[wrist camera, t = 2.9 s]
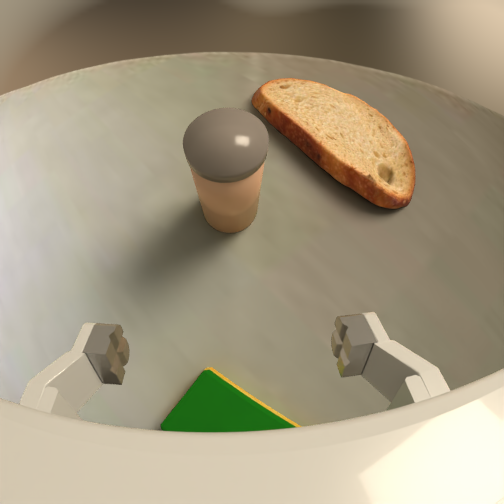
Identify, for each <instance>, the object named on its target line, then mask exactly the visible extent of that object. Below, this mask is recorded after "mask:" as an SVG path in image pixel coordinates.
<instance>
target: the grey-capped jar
mask: <svg viewBox="0 0 504 504" xmlns="http://www.w3.org/2000/svg"><path fill="white" fill-rule="evenodd" d="M268 144H269V136H268V132H267V129H266V127H265V126H264V124H263V123H262V122H261V121H260V120H259V119H258V118H257V117H256V116H255V115H253V114H251V113H249V112H247V111H244V110H241V109H237V108H219V109H214V110H211V111H208V112H206V113H204V114H202V115H200V116H199V117H197V118H196V119H195V120H194V121H193V122H192V123H191V124H190V125H189V126H188V128H187V130H186V132H185V134H184V138H183V148H184V152H185V156H186V159H187V162H188V164H189V166H190V168H191V172H192V175H193V179H194V182H195V186H196V189H197V193H198V196H199V200H200V203H201V207H202V210H203V213H204V216H205V219H206V221H207V222H208V223H209V224H210V225H211V226H212V227H213V228H214V229H216V230H218V231H221V232H225V233H235V232H239V231H242V230H244V229H245V228H247V227H248V226H249V225H250V224H251V223H252V222H253V221H254V219H255V217H256V214H257V209H258V202H259V195H260V188H261V181H262V174H263V167H264V161H265V159H266V156H267V151H268Z"/></svg>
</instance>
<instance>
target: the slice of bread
mask: <svg viewBox="0 0 504 504" xmlns="http://www.w3.org/2000/svg"><path fill="white" fill-rule="evenodd" d="M252 104H253V106H254V107H255V108H256V109H257V110H258V111H259V112H260V113H261V114H262V115H263V116H264V117H265V118H266V119H267V121H268V122H269V123H270V124H271V125H273V126H274V127H275V128H276V129H277V130H278V131H279V132H280V133H281V134H283V135H284V136H286V137H287V138H288V139H289V140H290V141H291V142H292V143H294V144H295V145H297V146H298V147H299V148H300V149H301V150H302V151H303V152H304V153H305V154H306V155H307V156H309V157H310V158H311V159H312V160H313V161H314V162H316V163H317V164H318V165H319V166H320V167H321V168H323V169H324V170H325V171H327V172H328V173H329V174H330V175H331V176H332V177H334V178H335V179H336V180H337V181H339V182H340V183H342V184H343V185H345V186H347V187H349V188H351V189H352V190H354V191H355V192H357V193H358V194H360V195H361V196H363V197H364V198H366V199H367V200H369V201H370V202H372V203H373V204H375V205H378V206H380V207H384V208H390V209H396V208H400V207H405V206H407V205H408V204H409V203H410V201H411V198H412V194H413V191H414V186H415V165H414V161H413V157H412V154H411V150H410V148H409V145H408V143H407V141H406V140H405V139H404V137H403V136H402V135H401V134H400V133H399V132H398V131H397V129H396V128H395V127H394V126H393V125H392V124H391V123H390V122H389V121H388V120H387V118H386V117H385V116H383V115H381V114H380V113H379V112H378V111H377V110H376V109H374V108H372V107H371V106H369V105H368V104H367V103H365V102H364V101H362V100H360V99H359V98H357V97H355V96H353V95H351V94H346V93H342V92H339V91H338V90H335V89H333V88H330V87H328V86H326V85H324V84H320V83H317V82H313V81H309V80H300V79H294V78H287V79H277V80H271V81H268V82H267V83H265V84H264V85H262V86H261V87H260V88H259V89H258V90H257V91H256V92H255V94H254V96H253V98H252Z"/></svg>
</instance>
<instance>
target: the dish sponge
mask: <svg viewBox="0 0 504 504" xmlns="http://www.w3.org/2000/svg"><path fill="white" fill-rule="evenodd" d="M295 427H301V426H300V425H298V424H296V423H295V422H293V421H291V420H290V419H288V418H286V417H285V416H283V415H281V414H280V413H278V412H277V411H275V410H273V409H272V408H270V407H269V406H267V405H266V404H264V403H262V402H261V401H259V400H258V399H256V398H255V397H253V396H252V395H250V394H249V393H247V392H246V391H244V390H243V389H242V388H240V387H239V386H237V385H236V384H234V383H233V382H231V381H230V380H229V379H227V378H226V377H224V376H223V375H222V374H220V373H219V372H217V371H216V370H215V369H213V368H212V367H209V368H206V369H205V370H204V371H203V372H202V373H201V375H200V376H199V377H198V378H197V380H196V381H195V382H194V384H193V385H192V386H191V387H190V389H189V390H188V391H187V392H186V394H185V395H184V396H183V397H182V399H181V400H180V401H179V403H178V404H177V405H176V406H175V408H174V409H173V410H172V411H171V412H170V414H169V415H168V416H167V417H166V419H165V420H164V421H163V422H162V424H161V429H162V430H163V431H174V432H248V431H264V430H276V429H286V428H295Z"/></svg>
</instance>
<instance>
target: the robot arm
mask: <svg viewBox="0 0 504 504" xmlns="http://www.w3.org/2000/svg"><path fill="white" fill-rule="evenodd" d="M335 327H336V330H334V331H333V332H332V337H331V347H332V351H333V355H334V356H335V357H336V358H338V362H337V367H338V370H339V373H340V375H341V377H349V376H356V375H362V377H363V378H365V379H366V380H367V381H368V382H369V383H370V384H371V385H372V386H373V387H375V388H376V389H377V390H378V391H379V392H380V393H381V394H382V395H383V396H385V397H386V398H387V399H388V400H389V401H390V402H391V404H390V406H389V407H388V409H387V410H386V411H383V412H379V413H375V414H371V415H366V416H362V417H357V418H352V419H347V420H342V421H336V422H330V423H324V424H318V425H311V426H303V427H295V428H286V429H276V430H264V431H248V432H174V431H159V430H147V429H137V428H128V427H120V426H113V425H106V424H100V423H94V422H89V421H83V420H82V419H81V418H80V417H79V415H78V414H77V412H78V411H79V410H80V409H81V408H82V407H83V406H84V405H85V404H86V402H87V401H88V400H89V399H90V398H91V397H92V396H93V395H94V394H95V393H96V391H97V390H98V389H99V388H100V387H101V386H102V385H103V384H102V383H104V384H117V385H122V382H123V378H124V374H125V370H124V368H123V366H125V365H126V364H127V363H128V360H129V345H128V342H127V340H126V339H125V338H124V337H123V336H122V335H123V330H122V327H121V325H118V324H103V323H85V324H83V326H82V328H81V330H80V332H79V335H78V337H77V339H76V341H75V343H74V345H73V347H72V350H71V352H69V351H68V352H66V353H65V354H64V355H62V356H61V357H60V358H58V359H57V360H56V361H54V362H53V363H52V364H50V365H49V366H48V367H46V368H45V369H44V370H43V371H41V372H40V373H39V374H37V375H36V376H35V377H34V378H32V379H31V380H30V381H29V382H28V384H27V386H26V389H25V391H24V393H23V396H22V398H21V400H20V403H19V404H16V403H13V402H10V401H7V400H4V399H2V398H0V504H504V368H503V369H501V370H499V371H497V372H495V373H493V374H491V375H488V376H486V377H484V378H482V379H479V380H477V381H474V382H472V383H470V384H467V385H465V386H462V387H460V388H457V389H454V390H452V391H450V389H449V387H448V386H447V384H446V382H445V380H444V378H443V376H442V375H441V373H440V371H439V369H438V368H437V367H436V366H434V365H432V364H431V363H429V362H428V361H426V360H424V359H423V358H421V357H420V356H418V355H416V354H415V353H413V352H412V351H410V350H408V349H407V348H405V347H404V346H402V345H400V344H399V343H397V342H396V341H394V340H391V341H390V339H389V337H388V336H387V334H386V332H385V330H384V328H383V326H382V324H381V323H380V321H379V319H378V317H377V315H376V314H375V313H374V312H369V313H362V314H354V315H345V316H337V318H336V320H335Z"/></svg>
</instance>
